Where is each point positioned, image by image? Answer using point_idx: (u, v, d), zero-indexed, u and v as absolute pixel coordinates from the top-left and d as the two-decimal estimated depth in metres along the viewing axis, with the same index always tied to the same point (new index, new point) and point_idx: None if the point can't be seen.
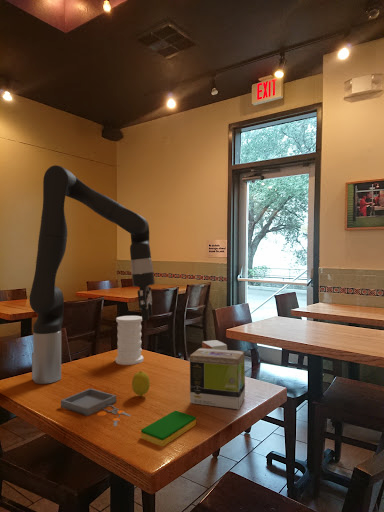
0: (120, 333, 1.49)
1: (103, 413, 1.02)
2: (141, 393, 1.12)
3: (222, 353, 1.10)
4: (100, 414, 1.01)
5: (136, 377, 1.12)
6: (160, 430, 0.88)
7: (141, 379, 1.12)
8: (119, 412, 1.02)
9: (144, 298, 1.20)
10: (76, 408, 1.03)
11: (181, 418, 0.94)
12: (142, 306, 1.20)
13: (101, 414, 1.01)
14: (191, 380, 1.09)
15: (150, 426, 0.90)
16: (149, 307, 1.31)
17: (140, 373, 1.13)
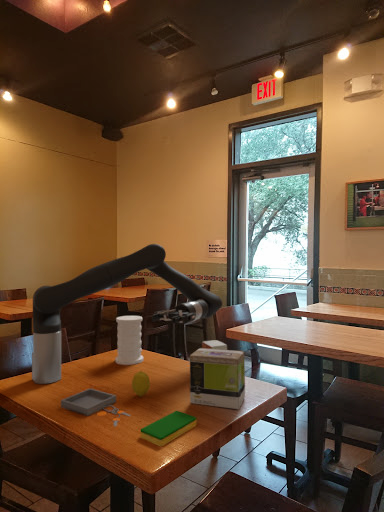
0: (120, 333, 1.49)
1: (103, 413, 1.02)
2: (141, 393, 1.12)
3: (222, 353, 1.10)
4: (100, 414, 1.01)
5: (136, 377, 1.12)
6: (159, 430, 0.88)
7: (141, 379, 1.12)
8: (119, 412, 1.02)
9: (191, 320, 1.26)
10: (76, 408, 1.03)
11: (181, 418, 0.94)
12: (187, 318, 1.24)
13: (101, 414, 1.01)
14: (191, 380, 1.09)
15: (150, 426, 0.90)
16: (158, 318, 1.28)
17: (140, 373, 1.13)
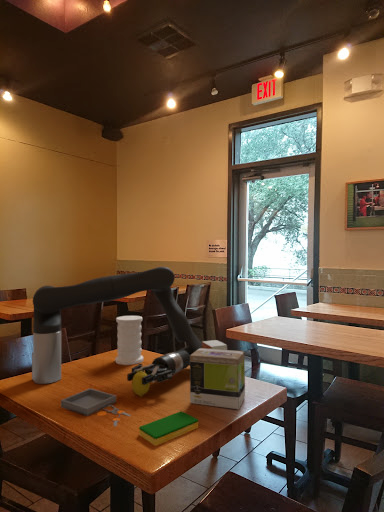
0: (120, 333, 1.49)
1: (103, 413, 1.02)
2: (141, 393, 1.12)
3: (222, 353, 1.10)
4: (100, 414, 1.01)
5: (136, 377, 1.12)
6: (157, 429, 0.89)
7: (141, 379, 1.12)
8: (119, 412, 1.02)
9: (166, 379, 1.15)
10: (76, 408, 1.03)
11: (182, 419, 0.94)
12: (160, 378, 1.13)
13: (101, 414, 1.01)
14: (191, 380, 1.09)
15: (149, 424, 0.91)
16: None
17: (140, 373, 1.13)
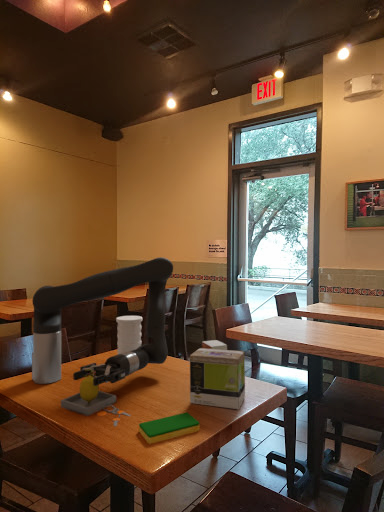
0: (120, 333, 1.49)
1: (103, 413, 1.02)
2: (88, 399, 1.06)
3: (222, 353, 1.10)
4: (100, 414, 1.01)
5: (83, 383, 1.06)
6: (154, 428, 0.89)
7: (89, 384, 1.06)
8: (119, 412, 1.02)
9: (119, 379, 1.09)
10: (76, 408, 1.03)
11: (183, 421, 0.93)
12: (113, 378, 1.07)
13: (101, 414, 1.01)
14: (191, 380, 1.09)
15: (149, 422, 0.92)
16: (83, 375, 1.11)
17: (88, 378, 1.07)
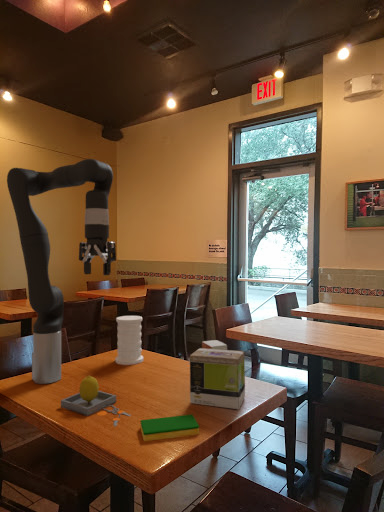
0: (120, 333, 1.49)
1: (103, 413, 1.02)
2: (88, 399, 1.06)
3: (222, 353, 1.10)
4: (100, 414, 1.01)
5: (83, 383, 1.06)
6: (152, 426, 0.90)
7: (89, 385, 1.06)
8: (119, 412, 1.02)
9: (114, 250, 1.13)
10: (76, 408, 1.03)
11: (184, 422, 0.92)
12: (112, 259, 1.12)
13: (101, 414, 1.01)
14: (191, 380, 1.09)
15: (151, 420, 0.93)
16: (89, 264, 1.18)
17: (88, 378, 1.07)
